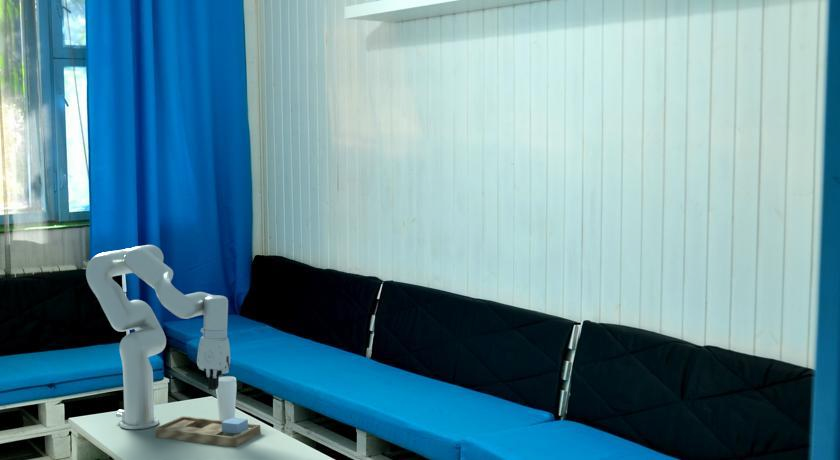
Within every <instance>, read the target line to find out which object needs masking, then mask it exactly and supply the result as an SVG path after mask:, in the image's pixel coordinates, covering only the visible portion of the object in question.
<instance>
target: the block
mask: <svg viewBox="0 0 840 460" xmlns="http://www.w3.org/2000/svg"><path fill="white" fill-rule="evenodd" d="M248 424H249V420H248V419H245V418H241V417H240V418H239V417H238V418H237V417H235V418H230V419H228V420H226V421H224V422H222V432H229V433H236V434H238V433H240V432H242V431H244V430H246V429H248Z"/></svg>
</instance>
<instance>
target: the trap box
mask: <svg viewBox="0 0 840 460" xmlns="http://www.w3.org/2000/svg"><path fill="white" fill-rule="evenodd" d="M222 422H224V421H221V420H219V419H210V418H203V417H195V416H187V415H182V416H180V417H178V418H175V419H173V420H170V421H169V422H166V423H164V424H162V425H160V426H157V427H155V428H154V434H155V436H154V437H155V438H160V439H161V438H162V439H170V440H177V441H178V440H179V441H186V442H193V443H203V444H208V445H210V444H211V445H215V446H216V445H218V446H223V447H224V446H225V447H233V448H237V447H238V446H241V445H242V444H244V443H246V442H248V441H249V440H251V439H253V438H255V437H257V436H259V435H261V425H260V424H255V423H248V429H246V430H244V431H242V432H240V433H238V434H236V433H229V432H222Z"/></svg>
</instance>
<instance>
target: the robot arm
mask: <svg viewBox="0 0 840 460" xmlns="http://www.w3.org/2000/svg"><path fill="white" fill-rule="evenodd" d="M85 269H86V270H85V276H86V280H87V283H88V286H89V288H90V289H91V291H92V292H93V294H94V295H95V297H96V298H97V301H98V302H99V304H100V306H101V309H102V310H103V312H104V314H105V316H106V318H107V320H108V321H109V323H110V326H111V327H112V328H113V329H114V330H115V331H117V332H127V331H130V330H134V331H132V332H130V333H128V334H126V335H124V337H122V338H121V340H120V342H119V343H120V344H119V349H118V350H119V354H120V358H121V363H122V380H123V382H122V383H123V409H118V410H117V413H116V414H115V416H116V417H117V418H121V421H120V422H119V427H121V428H122V429H126V430H143V429H144V430H145V429H149V428H153V427H156V426H157V425H158V424H159V423H160V420H159V418H158V417H157V416H155V405H154V399H155V398H154V373H153V367H152V365H151V362H150V360H149V358H150V357H153V356H155V355H158V354H160V353H162V352H163V351H164V350H165V348H166V345H167V337H166V335H165V332H164V330H163V328H162V326H161V324H160V321H159V320H158V319H157V316H156V315H155V313H154V311H153V309H152V307H151V306H150V305H149V304H148V303H147V302H146V301H143V300H140V299H132V300H129V298H128V296H127V295H126V293H125V291H124V290H123V287H121V286H120V284H118V282H117V281H115V280H114V279H113V277H117V276H122V275H123V276H124V275H128V274H135V275H136V276H137V277H138V278H139V279H141V280H142V281H144V282H145V284H147V285H148V286H149V287H151V288H152V289H153V290H154V291H155V294H156V298H158V301H159V302H160V304H161V305H162V306H163V307H164V308H165V309H167V310H168V311H169V312H171V314H173V315H175V316H176V317H177V318H179V319H186V320H188V319H191V318H194V317H199V316H203V327H202V328H201V329H200V332H201V333H202V336H201V337H200V339H199V343H198V346H197V347H198V348H197V357H196V364H197V367H198V369H199V370H201V371H203V372H204V373H205V375H206V377H207V386H208V388H207V390H211V391H216V389H217V388H218V385H219V377H222V375H223V374H227V373H229V372H230V370H229V368H230V365H231V348H230V341H229V338H228V320H229V319H228V318H229V317H228V316H229V315H228V314H229V300H228V299H229V298H228V297H226V296H224V295H218V294H217V295H216V294H210V293H207V292H204V291H196V292H192V293H187V294H184V293H183V292H181V291H180V290H178V289H177V288H176V287H175V286H174V285H173V284H172V280H173V278H174V277H173V276H174V271H173V269H172V268H171V267H170V266H168V265H167V264H165V263H164V254H163V252H162V250H161V248H159V247H158V246H156V245H153V244H146V245H145V244H144V245H138V246H134V247H131V248H125V249H119V250H112V251H111V250H110V251H105V252H101V253H98V254H96V255H94V256H93V257H92V258H91V259H90V260H89V261H88V263H87V265H86V268H85Z"/></svg>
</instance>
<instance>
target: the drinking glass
mask: <svg viewBox="0 0 840 460" xmlns="http://www.w3.org/2000/svg"><path fill="white" fill-rule="evenodd" d="M215 391H216V393H215V394H216V400H217V401H216V404H217V410H218V420H221V421H226V420H228V419H230V418H236V403H237V378H236V377H235V376H230V375H229V376H228V375H226V376H220V377H219V385H218V388H217V389H215Z"/></svg>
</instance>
